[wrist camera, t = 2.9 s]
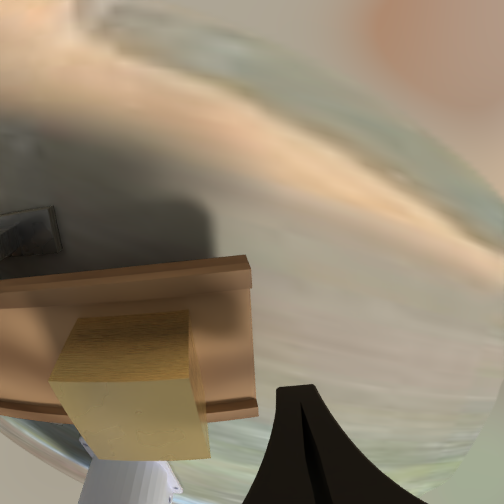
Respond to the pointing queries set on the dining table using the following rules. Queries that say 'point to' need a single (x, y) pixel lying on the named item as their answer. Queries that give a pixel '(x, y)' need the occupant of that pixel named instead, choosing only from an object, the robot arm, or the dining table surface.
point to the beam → (128, 303)
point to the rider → (134, 387)
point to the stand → (29, 234)
